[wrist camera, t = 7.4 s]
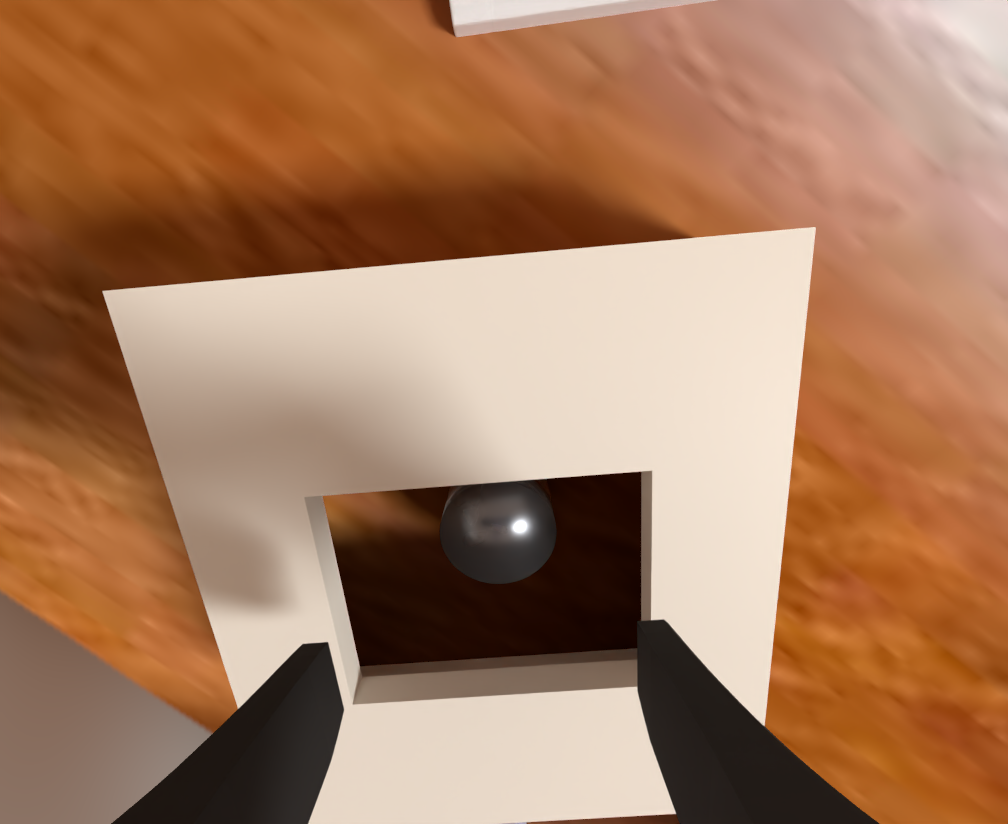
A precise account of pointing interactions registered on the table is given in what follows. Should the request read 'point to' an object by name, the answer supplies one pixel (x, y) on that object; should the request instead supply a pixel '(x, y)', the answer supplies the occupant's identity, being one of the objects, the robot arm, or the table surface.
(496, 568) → the dark grey rounded piece
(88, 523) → the table surface
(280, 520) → the box
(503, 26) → the external hard drive
